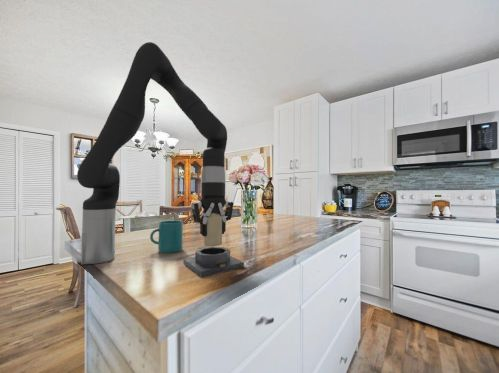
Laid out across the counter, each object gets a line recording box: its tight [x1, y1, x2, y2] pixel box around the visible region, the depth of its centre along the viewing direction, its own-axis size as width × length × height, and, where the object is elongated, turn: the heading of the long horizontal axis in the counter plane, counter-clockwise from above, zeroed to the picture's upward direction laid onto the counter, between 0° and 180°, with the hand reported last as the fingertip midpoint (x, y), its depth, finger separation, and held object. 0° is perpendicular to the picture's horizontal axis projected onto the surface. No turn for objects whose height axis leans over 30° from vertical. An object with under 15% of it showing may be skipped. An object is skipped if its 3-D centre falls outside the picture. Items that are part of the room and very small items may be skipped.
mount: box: [182, 246, 245, 278], centre depth 69 cm, size 14×14×4 cm
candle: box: [203, 213, 223, 247], centre depth 69 cm, size 6×6×10 cm
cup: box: [149, 220, 184, 254], centre depth 86 cm, size 9×12×11 cm
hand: (213, 234), depth 69 cm, fingers closed on candle, 5 cm apart
